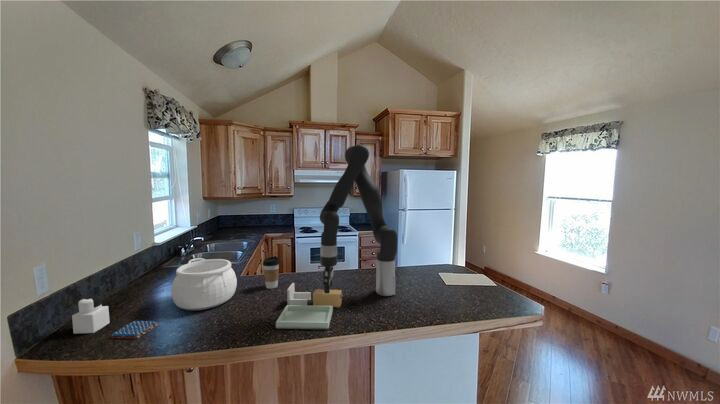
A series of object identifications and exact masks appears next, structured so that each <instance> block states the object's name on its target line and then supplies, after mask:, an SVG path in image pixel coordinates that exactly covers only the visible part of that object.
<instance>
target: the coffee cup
mask: <svg viewBox="0 0 720 404" xmlns="http://www.w3.org/2000/svg"><path fill="white" fill-rule="evenodd" d="M279 265H280V258H279V257H278V256H270V257H266V258H265V259H263V262H262V266H263V274H264V275H263V276H264V280H265V288H266V289H269V290H270V289H271V290H272V289H275V288H278V285H279V273H280V272H279V270H280V266H279Z"/></svg>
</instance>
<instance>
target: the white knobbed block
mask: <svg viewBox="0 0 720 404" xmlns="http://www.w3.org/2000/svg"><path fill="white" fill-rule="evenodd" d="M109 311H110V310H109V305H102V296H100V295H92V296H87V297H83V298H82V299H80V300H79V301H78V312H76V313H74V314H72V315H71V319H72V330H73V331H72V332H73V334H75V335H77V334H94V333H96V332H98V331H99V330H101V329H103V328H104V327H106V326H107V325H108V324H110V312H109Z"/></svg>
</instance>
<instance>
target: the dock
mask: <svg viewBox="0 0 720 404" xmlns="http://www.w3.org/2000/svg"><path fill="white" fill-rule="evenodd" d="M295 286H296V285H295V282H292V283H291V284H290V285H289V287H288V288H287V289H286V296H287V297H286V301H287V305H308V301H311V300H312V299H311V297H312V296H311V295H312V294H311V293H312V292H309V291H304V292H302V291H301V292H300V291H295V290H296V289H295Z"/></svg>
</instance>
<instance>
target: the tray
mask: <svg viewBox="0 0 720 404" xmlns="http://www.w3.org/2000/svg"><path fill="white" fill-rule="evenodd" d="M333 312H334V307H333V306H321V305H313V304H312V305H311V304H309V305H308V304H307V305H288V304H287V305H286V306H285V307H284V308H283V310H282V312H281V313H280V315H279V316H278V318H277V320H276V321H275V329H281V330H282V329H284V330H285V329H289V330H290V329H291V330H292V329H294V330H296V329H297V330H299V329H300V330H329V328H330V324H331V319H332V316H333Z"/></svg>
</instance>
